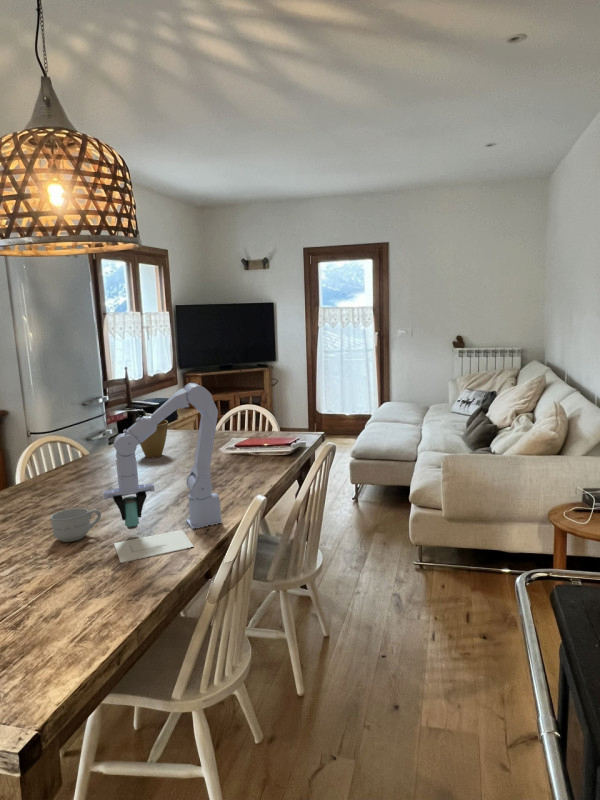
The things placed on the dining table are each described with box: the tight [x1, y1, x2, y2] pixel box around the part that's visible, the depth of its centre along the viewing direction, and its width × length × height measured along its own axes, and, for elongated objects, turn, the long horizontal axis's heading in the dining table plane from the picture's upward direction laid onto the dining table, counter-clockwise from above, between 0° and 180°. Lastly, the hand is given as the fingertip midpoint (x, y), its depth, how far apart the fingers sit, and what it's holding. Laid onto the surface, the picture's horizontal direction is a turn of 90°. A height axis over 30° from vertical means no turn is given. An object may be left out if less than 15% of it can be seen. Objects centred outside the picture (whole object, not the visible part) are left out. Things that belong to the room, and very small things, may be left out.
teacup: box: [49, 507, 102, 543], centre depth 168 cm, size 14×11×8 cm
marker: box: [122, 495, 140, 530], centre depth 167 cm, size 4×4×9 cm
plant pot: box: [139, 419, 169, 459], centre depth 260 cm, size 15×15×16 cm
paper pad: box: [113, 529, 195, 564], centre depth 160 cm, size 20×14×1 cm
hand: (131, 517), depth 167 cm, fingers closed on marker, 4 cm apart
